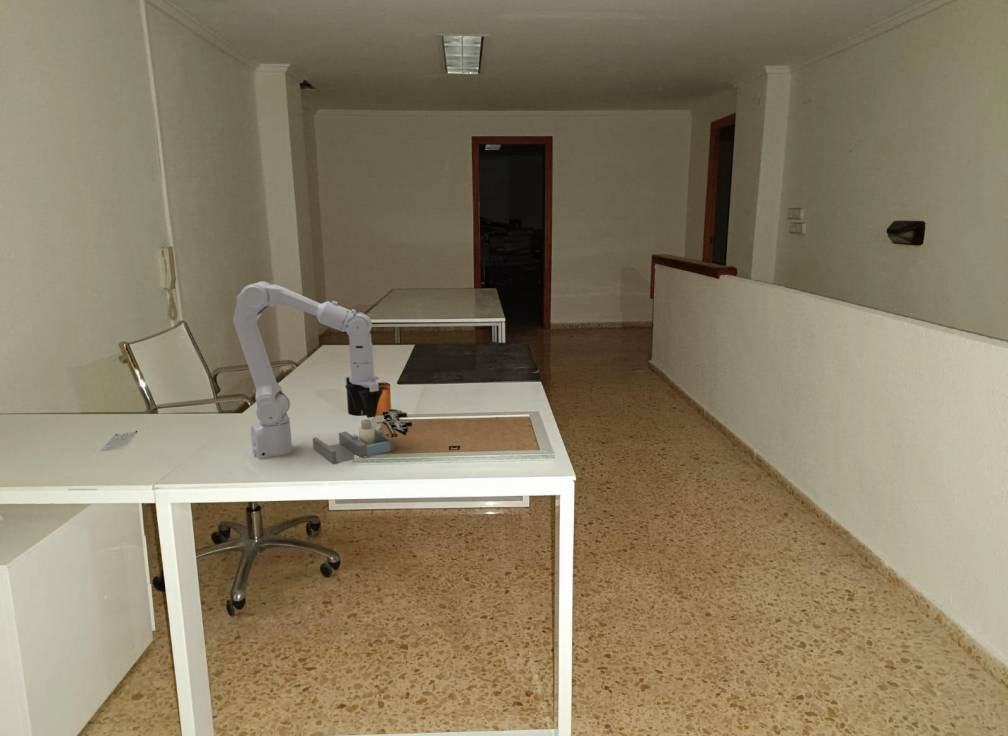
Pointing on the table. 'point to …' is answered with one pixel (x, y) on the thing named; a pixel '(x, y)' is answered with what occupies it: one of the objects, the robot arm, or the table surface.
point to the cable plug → (367, 432)
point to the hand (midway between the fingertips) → (365, 413)
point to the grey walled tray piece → (352, 447)
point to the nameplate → (396, 421)
